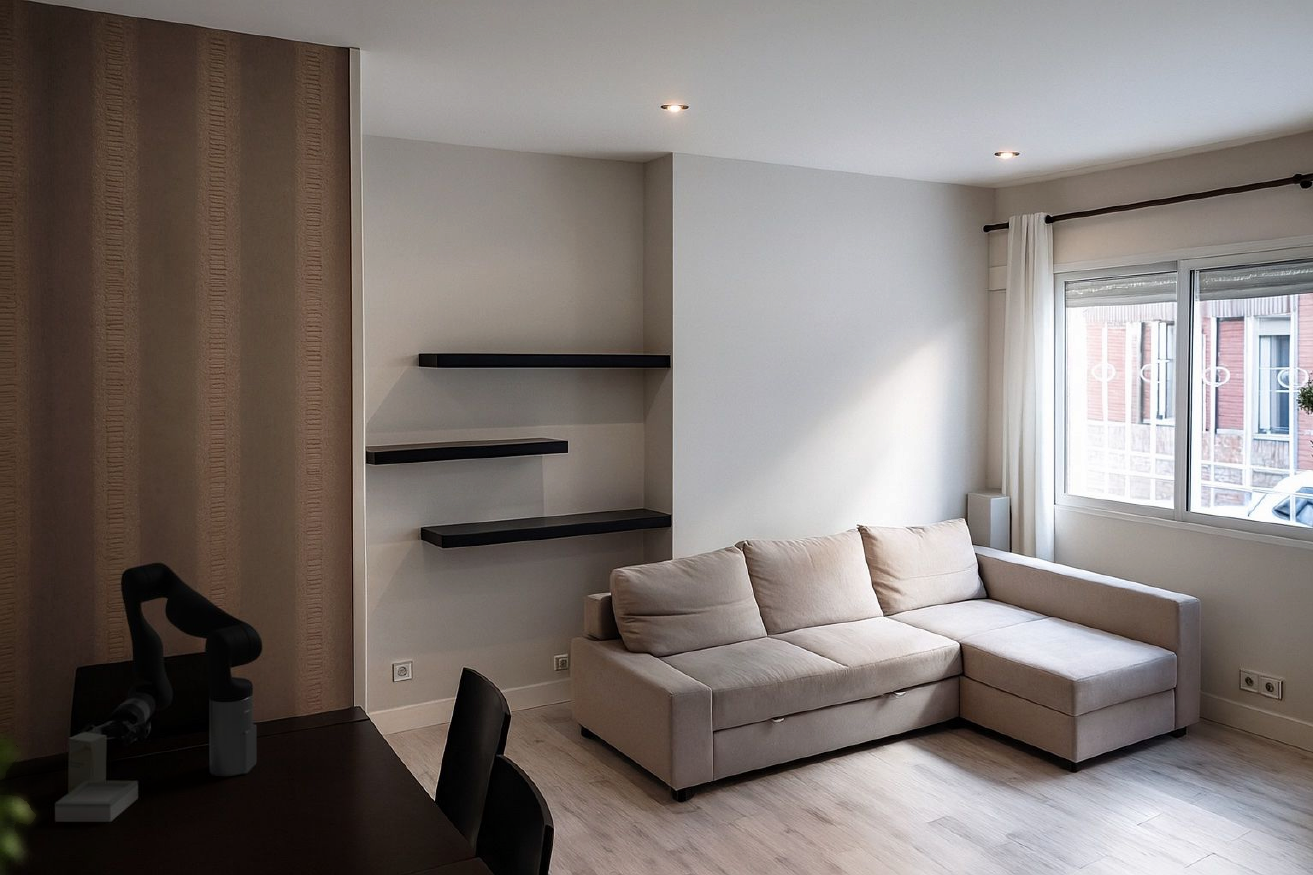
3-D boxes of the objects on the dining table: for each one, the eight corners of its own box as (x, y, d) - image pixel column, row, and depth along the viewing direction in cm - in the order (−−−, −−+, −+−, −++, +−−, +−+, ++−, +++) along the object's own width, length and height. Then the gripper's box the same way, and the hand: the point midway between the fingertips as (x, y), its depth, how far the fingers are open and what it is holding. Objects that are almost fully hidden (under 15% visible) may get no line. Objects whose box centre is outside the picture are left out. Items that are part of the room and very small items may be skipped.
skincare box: (67, 793, 205) (66, 738, 204) (84, 784, 209) (83, 730, 208) (91, 796, 203) (90, 741, 203) (108, 788, 208) (107, 734, 207)
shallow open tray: (138, 797, 203) (137, 780, 203) (110, 821, 192) (110, 803, 192) (85, 797, 203) (85, 780, 202) (55, 821, 192) (54, 803, 192)
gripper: (96, 704, 230) (70, 728, 214) (160, 701, 233) (138, 725, 217) (96, 734, 231) (70, 761, 215) (160, 731, 234) (138, 757, 218)
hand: (104, 743), depth 216 cm, fingers open, 8 cm apart
